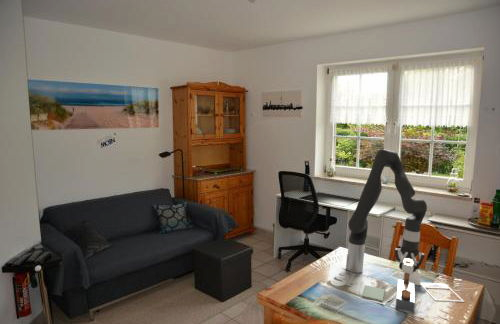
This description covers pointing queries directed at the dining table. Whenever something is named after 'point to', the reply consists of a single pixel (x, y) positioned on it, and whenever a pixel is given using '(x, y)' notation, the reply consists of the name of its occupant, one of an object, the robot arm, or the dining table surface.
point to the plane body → (405, 294)
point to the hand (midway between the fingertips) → (407, 270)
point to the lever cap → (407, 266)
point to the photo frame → (439, 286)
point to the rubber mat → (373, 293)
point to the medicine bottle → (415, 276)
